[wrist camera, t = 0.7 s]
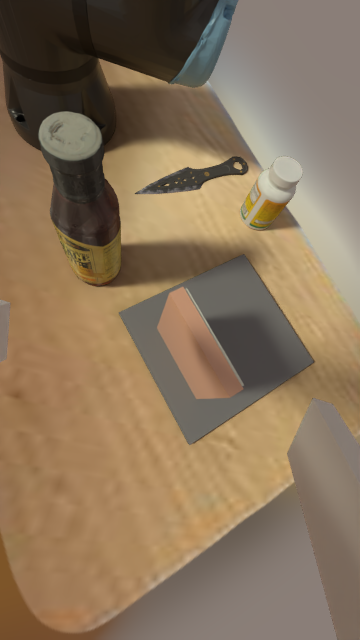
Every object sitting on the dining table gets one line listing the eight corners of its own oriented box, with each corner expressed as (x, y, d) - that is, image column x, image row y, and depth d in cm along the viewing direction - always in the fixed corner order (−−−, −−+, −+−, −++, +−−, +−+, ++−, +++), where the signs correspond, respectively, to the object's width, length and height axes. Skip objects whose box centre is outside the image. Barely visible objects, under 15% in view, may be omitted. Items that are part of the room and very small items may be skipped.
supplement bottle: (232, 213, 43) (259, 163, 34) (253, 196, 45) (285, 144, 36) (257, 237, 42) (291, 193, 33) (277, 219, 44) (315, 172, 35)
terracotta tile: (196, 399, 33) (229, 397, 22) (156, 328, 35) (169, 293, 24) (207, 391, 34) (246, 387, 23) (168, 322, 36) (186, 285, 24)
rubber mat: (188, 444, 32) (189, 445, 32) (119, 313, 35) (118, 312, 35) (311, 362, 38) (314, 362, 37) (242, 256, 41) (243, 253, 40)
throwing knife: (251, 175, 46) (252, 172, 46) (139, 207, 41) (140, 204, 40) (238, 155, 47) (240, 152, 46) (128, 183, 42) (128, 180, 41)
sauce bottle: (63, 260, 36) (-9, 108, 17) (105, 238, 38) (79, 79, 19) (91, 299, 35) (47, 184, 17) (132, 275, 37) (134, 146, 18)
